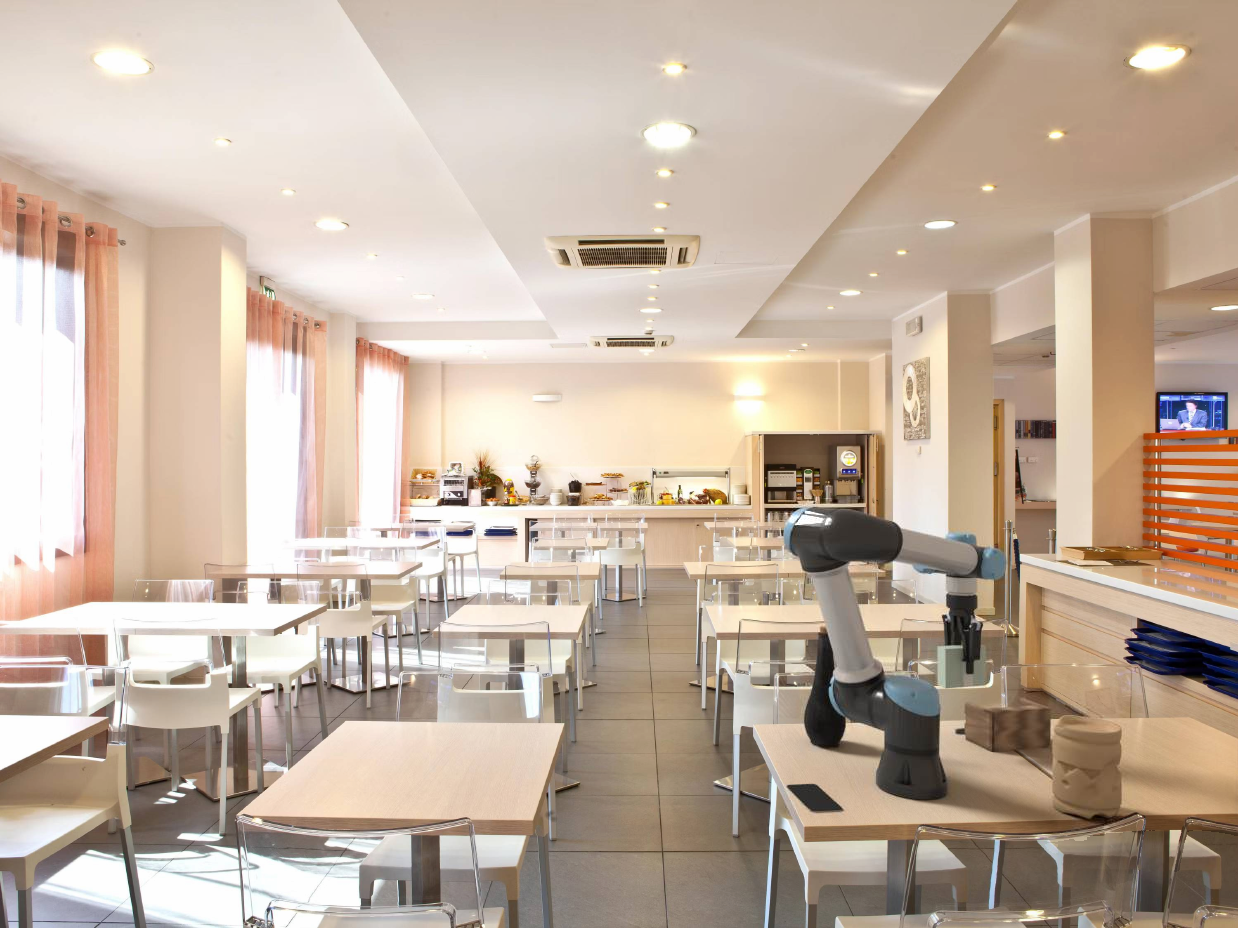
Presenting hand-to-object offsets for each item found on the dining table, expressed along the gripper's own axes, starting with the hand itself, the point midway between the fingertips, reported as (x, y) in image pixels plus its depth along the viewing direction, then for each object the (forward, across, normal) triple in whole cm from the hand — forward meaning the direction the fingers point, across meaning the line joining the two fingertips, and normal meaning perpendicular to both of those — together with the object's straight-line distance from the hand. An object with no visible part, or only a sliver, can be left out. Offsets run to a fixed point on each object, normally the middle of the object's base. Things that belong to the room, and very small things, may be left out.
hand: (962, 683), depth 212 cm
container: (+16, -41, +1) cm, 44 cm away
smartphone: (+15, -23, +54) cm, 61 cm away
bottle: (+16, +10, +34) cm, 39 cm away
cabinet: (+17, +3, -14) cm, 22 cm away
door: (0, 0, 0) cm, 0 cm away
